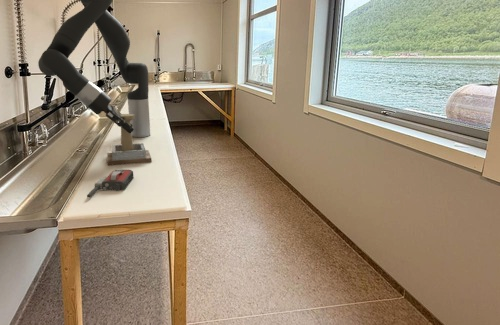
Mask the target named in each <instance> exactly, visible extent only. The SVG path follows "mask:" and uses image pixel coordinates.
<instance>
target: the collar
mask: <svg viewBox="0 0 500 325" xmlns="http://www.w3.org/2000/svg"><path fill="white" fill-rule="evenodd" d="M146 150H147V149H146V147H145V145H144V143H143V142H142V143H141V142H139V143H133V150H131V151H123V150H122V144H121V143H120V144H112V145H111V153H112V158H113V161H117V160H131V159H144V158H146Z"/></svg>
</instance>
